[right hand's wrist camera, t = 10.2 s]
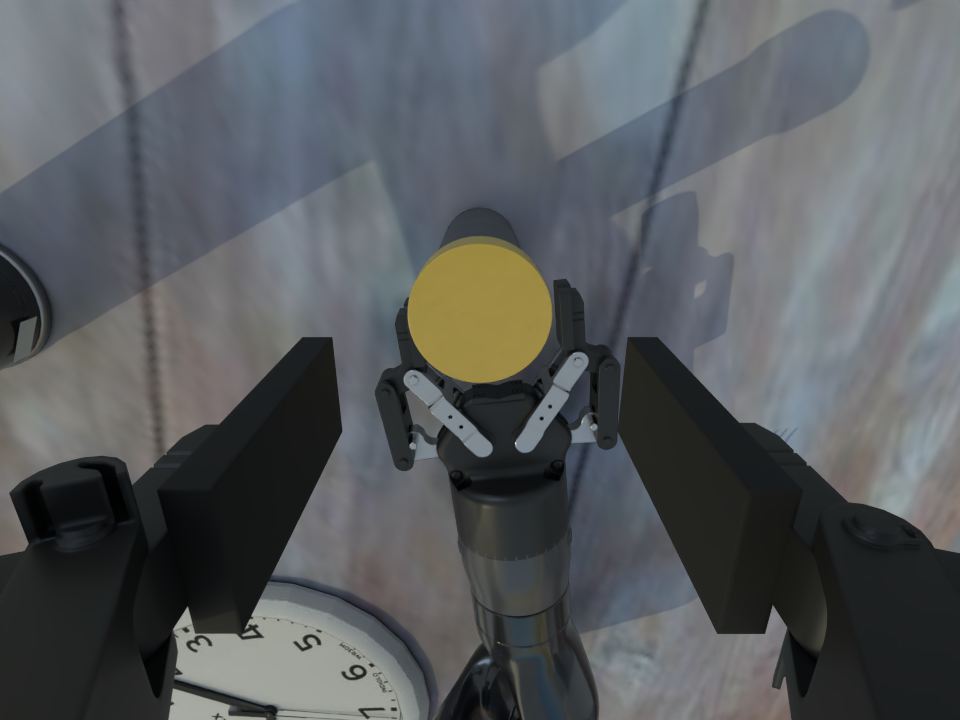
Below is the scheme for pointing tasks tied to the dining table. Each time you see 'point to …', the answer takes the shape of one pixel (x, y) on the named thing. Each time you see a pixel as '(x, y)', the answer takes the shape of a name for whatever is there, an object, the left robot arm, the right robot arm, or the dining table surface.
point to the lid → (480, 310)
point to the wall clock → (297, 665)
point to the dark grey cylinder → (480, 226)
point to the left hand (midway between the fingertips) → (486, 290)
